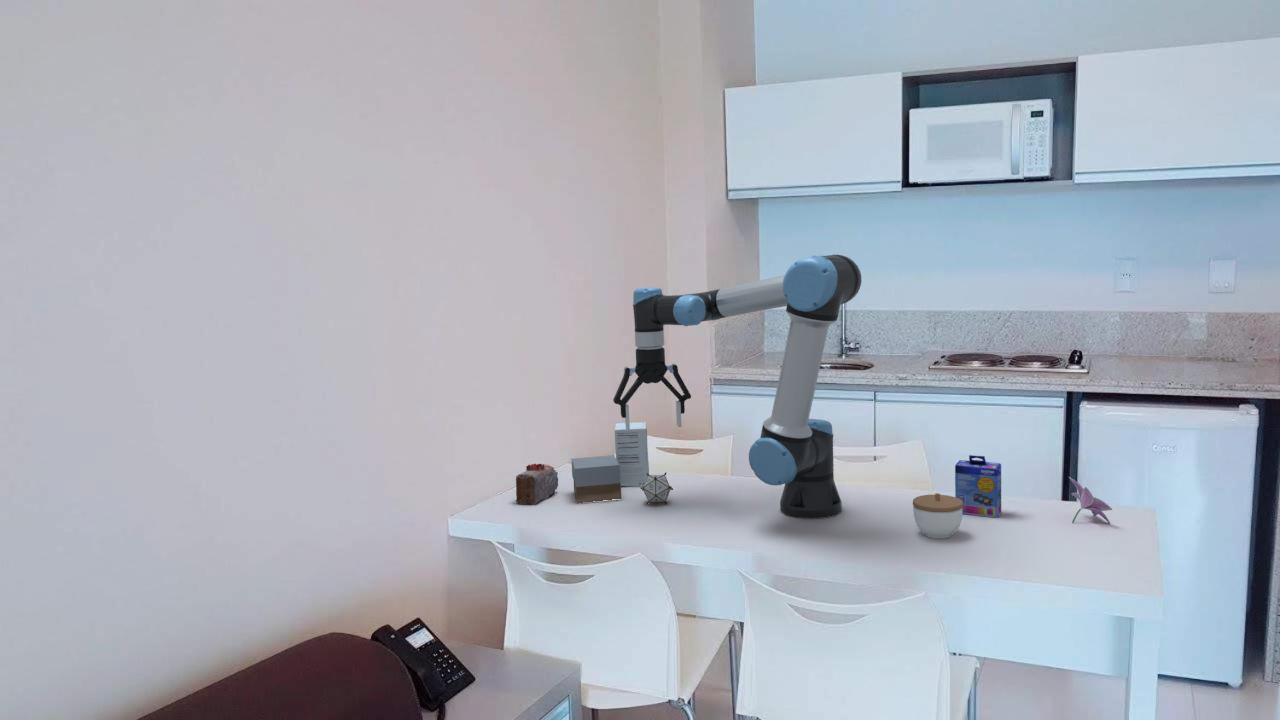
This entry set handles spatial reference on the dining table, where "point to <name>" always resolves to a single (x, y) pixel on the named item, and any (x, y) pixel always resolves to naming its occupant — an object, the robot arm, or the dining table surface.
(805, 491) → the robot arm
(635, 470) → the supplement box
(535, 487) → the food item
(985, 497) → the ink cartridge box
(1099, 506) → the lily
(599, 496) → the tower base
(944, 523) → the lidded jar
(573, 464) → the tower top
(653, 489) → the game die
